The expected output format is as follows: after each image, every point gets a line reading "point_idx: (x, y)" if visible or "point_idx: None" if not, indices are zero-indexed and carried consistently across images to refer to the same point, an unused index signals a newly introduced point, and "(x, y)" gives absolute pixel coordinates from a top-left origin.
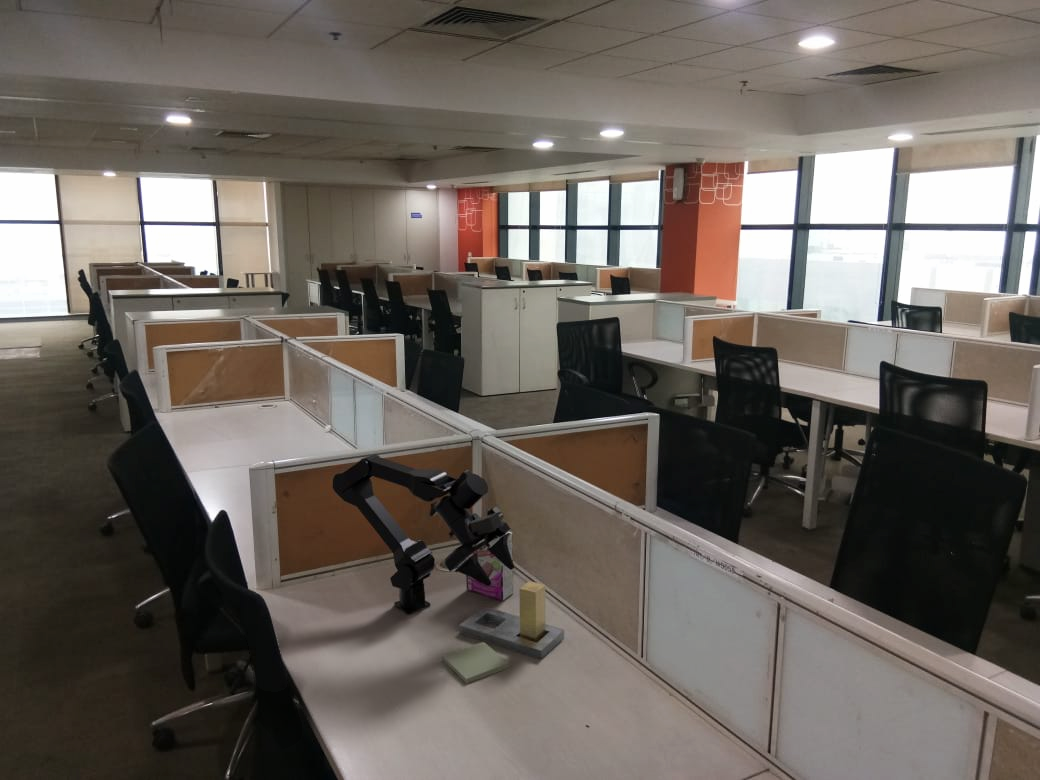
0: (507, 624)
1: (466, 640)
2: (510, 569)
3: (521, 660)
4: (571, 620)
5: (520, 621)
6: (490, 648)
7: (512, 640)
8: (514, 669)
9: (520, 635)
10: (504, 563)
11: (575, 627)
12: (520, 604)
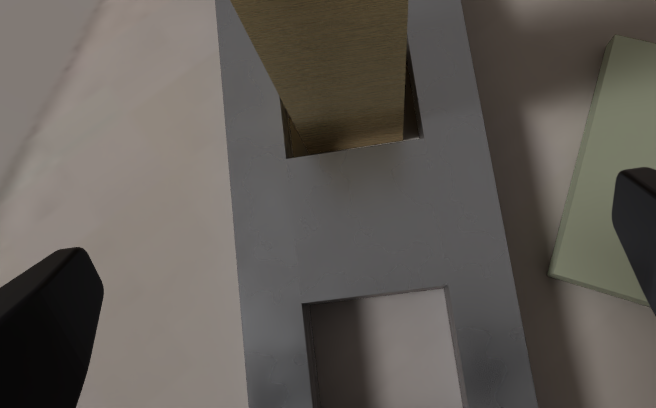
0: (352, 257)
1: (570, 398)
2: (103, 294)
3: (515, 42)
4: (72, 90)
5: (404, 85)
6: (580, 195)
7: (471, 122)
8: (599, 18)
9: (403, 121)
10: (66, 398)
11: (119, 38)
12: (404, 22)
